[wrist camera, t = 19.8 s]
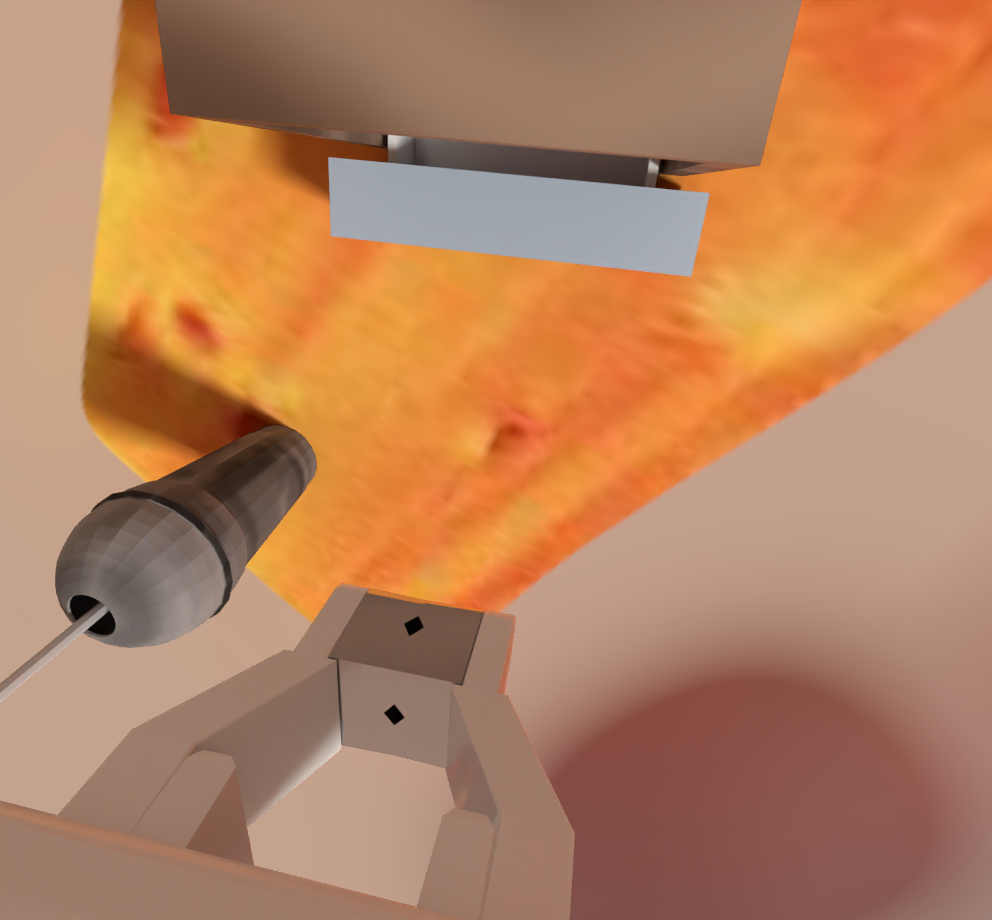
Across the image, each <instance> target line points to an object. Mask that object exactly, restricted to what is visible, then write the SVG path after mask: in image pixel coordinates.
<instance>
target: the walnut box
mask: <svg viewBox="0 0 992 920" xmlns="http://www.w3.org/2000/svg"><path fill="white" fill-rule="evenodd" d="M801 1H802V0H155V5H156V12H157V20H158V27H159V34H160V42H161V49H162V56H163V64H164V71H165V79H166V86H167V93H168V101H169V108H170V114H175V115H182V116H188V117H194V118H200V119H206V120H212V121H219V122H225V123H231V124H237V125H243V126H249V127H256V128H262V129H268V130H274V131H280V132H286V133H293V134H299V135H305V136H311V137H317V138H324V139H330V140H336V141H342V142H348V143H354V144H361V145H367V146H373V147H379V148H385V149H388V135H396V136H407V137H418V138H430V139H441V140H452V141H464V142H475V143H486V144H497V145H509V146H520V147H531V148H543V149H554V150H565V151H577V152H588V153H599V154H611V155H622V156H633V157H645V158H656V159H660V164H659V169H658V174H665V175H676V176H687V175H695V174H702V173H709V172H717V171H724V170H731V169H739V168H746V167H753V166H760V164H761V160H762V156H763V152H764V148H765V144H766V140H767V136H768V132H769V128H770V124H771V120H772V116H773V112H774V108H775V104H776V100H777V96H778V92H779V89H780V85H781V81H782V77H783V73H784V69H785V65H786V61H787V57H788V53H789V49H790V45H791V41H792V37H793V33H794V29H795V25H796V21H797V17H798V13H799V9H800V5H801Z"/></svg>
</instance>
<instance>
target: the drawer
mask: <svg viewBox="0 0 992 920" xmlns="http://www.w3.org/2000/svg"><path fill="white" fill-rule="evenodd" d="M659 164H660V159H656V158H645V157H633V156H622V155H611V154H599V153H588V152H577V151H565V150H554V149H543V148H531V147H520V146H509V145H497V144H486V143H475V142H464V141H452V140H441V139H430V138H418V137H407V136H396V135H388V163H385V162H375V161H364V160H354V159H343V158H333V157H328V165H329V193H330V222H331V236H335V237H343V238H352V239H361V240H370V241H379V242H388V243H397V244H406V245H415V246H424V247H433V248H441V249H450V250H459V251H468V252H477V253H486V254H495V255H504V256H513V257H522V258H530V259H539V260H548V261H557V262H566V263H575V264H584V265H593V266H602V267H611V268H619V269H628V270H637V271H646V272H655V273H664V274H673V275H682V276H691V275H692V271H693V266H694V262H695V257H696V253H697V248H698V244H699V239H700V235H701V230H702V226H703V221H704V217H705V212H706V208H707V203H708V199H709V194H710V193H703V192H692V191H681V190H671V189H660V188H655V185H656V180H657V175H658V169H659Z"/></svg>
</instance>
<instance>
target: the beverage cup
mask: <svg viewBox="0 0 992 920" xmlns="http://www.w3.org/2000/svg"><path fill="white" fill-rule="evenodd" d="M316 468H317V465H316V456H315V454H314V451H313V449H312V447H311V446H310V444H309V443H308V442H307V440H306V439H305V438H304V437H303V436H302V435H300V434H299V433H298V432H297V431H295V430H293V429H290V428H288V427H286V426H280V425H271V426H266V427H264V428H262V429H261V430H258V431H256V432H253V433H249V434H247V435H245V436H243V437H241V438H239V439H237V440H235V441H233V442H231V443H229V444H227V445H225V446H224V447H222V448H220V449H218V450H216V451H214V452H212V453H210V454H208V455H206V456H204V457H202V458H200V459H198V460H196V461H194V462H192V463H190V464H188V465H186V466H184V467H182V468H180V469H178V470H176V471H174V472H172V473H170V474H168V475H166V476H164V477H163V478H161V479H159V480H156V481H151V482H147V483H144V484H141V485H138V486H136V487H133V488H130V489H128V490H126V491H124V492H119V493H114V494H111V495H110V496H108V497H107V498H105V499H104V500H102V501H101V502H100V503H98V504H97V505H96V506H95V507H94V508H93V509H92V511H91V513H90V514H88V515H87V516H86V517H84V518H83V519H82V520H81V521H80V522H79V523H78V525H77V526H75V528H74V529H73V531H72V532H71V534H70V535H69V537H68V539H67V541H66V542H65V545H64V546H63V549H62V550H61V552H60V555H59V558H58V560H57V566H56V576H55V586H56V594H57V597H58V600H59V603H60V606H61V608H62V609H63V611H64V612H65V614H66V615H67V617H68V619H69V620H70V621H71V622H72V623H73V624H72V625H71V626H70V627H69V628H67V629H66V630H65V631H64V632H63V633H61V634H60V635H59V636H58V637H56V638H55V639H54V640H53V641H52V642H51V643H49V644H48V645H47V646H45V647H44V648H43V649H42V650H41V651H39V652H38V653H37V654H36V655H35V656H33V657H32V658H31V659H30V660H29V661H27V662H26V663H25V664H24V665H22V666H21V667H20V668H19V669H17V670H16V671H15V672H14V673H13V674H11V675H10V676H9V677H8V678H7V679H5V680H4V681H3V682H2V683H0V703H1V702H2V701H3V700H4V699H5V698H6V697H8V696H9V695H10V694H11V693H12V692H14V691H15V690H16V689H17V688H18V687H19V686H21V685H22V684H23V683H24V682H25V681H27V680H28V679H29V678H30V677H31V676H32V675H34V674H35V673H36V672H37V671H38V670H40V669H41V668H42V667H43V666H44V665H45V664H47V663H48V662H49V661H50V660H51V659H53V658H54V657H55V656H56V655H57V654H58V653H60V652H61V651H62V650H63V649H64V648H65V647H67V646H68V645H69V644H70V643H71V642H73V641H74V640H75V639H76V638H77V637H79V636H80V635H81V634H82V633H84V634H86V635H87V636H89V637H91V638H94V639H96V640H98V641H101V642H103V643H105V644H109V645H114V646H119V647H127V648H133V647H143V646H155V645H159V644H163V643H167V642H169V641H171V640H174V639H176V638H178V637H180V636H182V635H184V634H186V633H188V632H190V631H192V630H194V629H195V628H197V627H198V626H200V625H201V624H203V623H204V622H205V621H206V620H207V619H209V618H211V617H213V616H214V615H216V614H218V613H219V612H220V611H221V609H222V608H223V607H224V605H225V604H226V603H227V602H228V600H229V597H230V593H231V591H232V590H233V589H234V587H235V586H236V584H237V583H238V581H239V579H240V577H241V576H242V574H243V572H244V570H245V566H246V565H247V563H248V562H249V561H250V559H251V558H252V557H253V556H254V554H255V553H256V552H257V551H258V549H259V548H260V547H261V545H262V544H263V543H264V542H265V540H266V539H267V538H268V537H269V535H270V534H271V533H272V531H273V530H274V529H275V528H276V526H277V525H278V524H279V523H280V521H281V520H282V519H283V517H284V516H285V515H286V514H287V512H288V511H289V510H290V509H291V507H292V506H293V505H294V503H295V502H296V501H297V500H298V498H299V497H300V496H301V494H302V493H303V492H304V491H305V489H306V486H307V485H308V484H309V482H310V481H311V480H312V479H313V477H314V475H315V472H316Z"/></svg>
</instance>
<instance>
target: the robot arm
mask: <svg viewBox="0 0 992 920" xmlns="http://www.w3.org/2000/svg"><path fill="white" fill-rule="evenodd" d="M515 623H516V617H515V616H514V615H510V614H504V613H498V612H492V611H483V610H478V609H472V608H467V607H461V606H456V605H450V604H445V603H439V602H433V601H427V600H423V599H418V598H413V597H409V596H404V595H399V594H395V593H390V592H385V591H381V590H376V589H368V588H363V587H359V586H354V585H350V584H345V583H343V584H341V585H340V586H338V587H337V588H335V590H334V591H333V593H332V594H331V596H330V597H329V599H328V600H327V602H326V603H325V605H324V606H323V608H322V609H321V611H320V612H319V614H318V615H317V617H316V618H315V620H314V621H313V623H312V624H311V626H310V627H309V629H308V630H307V632H306V633H305V635H304V636H303V638H302V639H301V641H300V642H299V644H298V645H297V647H296V648H295V650H294V651H290V650H283V651H281V652H279V653H277V654H275V655H273V656H272V657H270V658H268V659H266V660H264V661H262V662H260V663H258V664H256V665H254V666H252V667H251V668H249V669H247V670H245V671H243V672H241V673H239V674H237V675H236V676H233V677H231V678H230V679H228V680H226V681H224V682H222V683H220V684H218V685H216V686H214V687H212V688H211V689H209V690H207V691H205V692H203V693H201V694H199V695H197V696H195V697H193V698H191V699H190V700H188V701H186V702H184V703H182V704H180V705H178V706H176V707H174V708H172V709H170V710H168V711H166V712H165V713H163V714H161V715H159V716H157V717H155V718H153V719H151V720H150V721H147V722H145V723H144V724H142V725H140V726H138V727H136V728H134V729H132V730H131V731H130V732H129V733H128V735H127V736H126V737H125V738H124V739H123V740H122V741H121V743H120V744H119V745H118V746H117V747H116V749H115V750H114V751H113V752H112V753H111V754H110V755H109V756H108V758H107V759H106V760H105V761H104V762H103V763H102V765H101V766H100V767H99V768H98V769H97V770H96V772H95V773H94V774H93V775H92V776H91V777H90V778H89V780H88V781H87V782H86V783H85V784H84V785H83V787H82V788H81V789H80V790H79V791H78V793H77V794H76V795H75V796H74V797H73V798H72V799H71V800H70V802H69V803H68V804H67V805H66V806H65V807H64V808H63V810H62V811H61V812H60V813H59V814H58V815H54V814H50V813H46V812H42V811H38V810H34V809H30V808H27V807H22V806H19V805H15V804H11V803H7V802H3V801H0V920H569V918H570V902H571V901H570V900H571V886H572V870H573V853H574V837H575V833H574V831H573V829H572V827H571V825H570V823H569V821H568V819H567V817H566V815H565V813H564V811H563V808H562V806H561V804H560V802H559V800H558V798H557V796H556V794H555V792H554V790H553V788H552V786H551V784H550V782H549V779H548V777H547V775H546V773H545V771H544V769H543V767H542V765H541V763H540V761H539V759H538V757H537V754H536V753H535V751H534V748H533V746H532V744H531V742H530V740H529V738H528V736H527V734H526V732H525V730H524V728H523V726H522V724H521V722H520V720H519V717H518V715H517V713H516V711H515V709H514V707H513V705H512V703H511V701H510V699H509V697H508V695H506V689H507V682H508V676H509V670H510V662H511V654H512V647H513V639H514V631H515ZM341 745H344V746H349V747H354V748H360V749H365V750H370V751H375V752H380V753H386V754H391V755H395V756H399V757H403V758H407V759H411V760H415V761H420V762H423V763H427V764H431V765H435V766H439V767H443V768H446V774H447V777H448V781H449V785H450V788H451V792H452V796H453V799H454V803H455V807H456V808H454V809H453V810H451V811H449V812H448V813H446V814H445V815H443V817H442V820H441V824H440V827H439V831H438V835H437V838H436V842H435V845H434V849H433V852H432V856H431V859H430V863H429V866H428V870H427V873H426V877H425V880H424V884H423V888H422V891H421V895H420V898H419V902H418V905H417V907H415V906H410V905H407V904H403V903H399V902H395V901H391V900H387V899H383V898H379V897H376V896H371V895H368V894H364V893H360V892H356V891H352V890H348V889H344V888H340V887H337V886H332V885H329V884H325V883H321V882H317V881H312V880H309V879H305V878H301V877H297V876H293V875H289V874H285V873H281V872H278V871H274V870H270V869H266V868H261V867H258V866H254V863H253V857H252V852H251V847H250V841H249V836H248V830H247V827H248V826H250V825H251V824H252V823H253V822H255V821H256V820H257V819H258V818H259V817H260V816H262V815H263V814H264V813H265V812H266V811H268V810H269V809H270V808H271V807H272V806H274V805H275V804H276V803H277V802H278V801H280V800H281V799H282V798H283V797H284V796H285V795H287V794H288V793H289V792H290V791H291V790H293V789H294V788H295V787H296V786H297V785H299V784H300V783H301V782H302V781H303V780H305V779H306V778H307V777H308V776H309V775H311V774H312V773H313V772H314V771H315V770H317V769H318V768H319V767H320V766H321V765H322V764H324V763H325V762H326V761H327V760H328V759H330V758H331V757H332V756H333V755H334V754H336V753H337V752H338V751H339V750H340V749H341Z"/></svg>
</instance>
